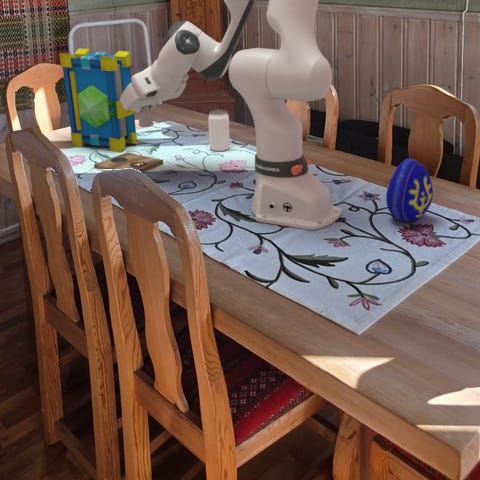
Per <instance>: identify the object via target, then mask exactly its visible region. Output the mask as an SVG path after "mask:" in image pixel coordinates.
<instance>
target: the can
mask: <svg viewBox="0 0 480 480" xmlns="http://www.w3.org/2000/svg"><path fill="white" fill-rule="evenodd" d="M208 114H209V115H208V119H207V120H208V139H209V141H208V142H209V149H210V151H212V152H219V153H220V152H226V151H229V149H230V147H231V144H230V116H229V113H228V111H227V110H225V109H213V110H210V111H209V113H208Z"/></svg>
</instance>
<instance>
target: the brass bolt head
mask: <svg viewBox="0 0 480 480" xmlns="http://www.w3.org/2000/svg"><path fill="white" fill-rule="evenodd" d="M133 165H134V166H141V165H143V162H135V163H133Z"/></svg>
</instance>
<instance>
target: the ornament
mask: <svg viewBox="0 0 480 480" xmlns="http://www.w3.org/2000/svg"><path fill="white" fill-rule="evenodd" d="M433 193H434V191H433V184H432V180H431V176H430V174H429V172H428V169H427V168H426V167H425V166H424V164H422V163H421V162H419V161H418V160H417V159H413V158H406V159H403V161H401V162H400V164H399V165H398V166H397V168H396V169H395V170H394V172H393V174H392V177H391V178H390V181H389V184H388V186H387V190H386V193H385V194H386V195H385V199H386V200H385V201H386V205H387V209H388V212H389V213H390V214H391V216H393V218H395V219H397V220H399V221H402V222H405V223H406V222H408V223H409V222H410V223H411V222H415V221H417V220H419V219H421V218H422V217H423V216H424V215H425V214H426V213H427V211H428V210H429V208H430V207H431V205H432V202H433V195H434V194H433Z"/></svg>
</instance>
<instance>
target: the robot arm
mask: <svg viewBox="0 0 480 480" xmlns="http://www.w3.org/2000/svg"><path fill="white" fill-rule="evenodd" d="M223 2H224V3H225V4H226V7H227V9H228V10H229V14H230V23H229V25H228V27H227V30H226V32H225V34H224V35H223V38H222V40H221V42H219V41H216V40H215V39H214V38H212V37H211V36H209V35H207V34H206V33H205V32H204V31H202V29H200V28H199V27H198V26H197V25H195V24H193V23H192V22H190V21H188V20H180V21H177V22H174V23H173V24H172V25H171V27H169V29H168V31H167V33H166V35H165V36H164V38H163V39H162V41H161V43H160V46H161V47H160V49H161V50H160V51H159V53H158V57H157V58H156V59H155V60H154V62H153V63H152V65H150V66H148V67H147V68H145V69H144V70H142V71H139V72H138V73H135V74H133V75H131V83H130V84H129V85H128V86H127V87H126V89H125V90H124V92H123V94H122V96H121V98H120V102H121V104H122V106H123V107H124V108H125V110H127V111H128V110H132V109H135V111H136V112H137V114H138V113H141V112H142V111H143V106H147V105H149V111H151V110H154V108H155V107H156V106H157V105H159V104H160V103H162V102H166V101H169V100H173V99H177V98H179V97H180V96H181V95H182V94H183V92H184V90H185V88H186V87H187V81H188V79H189V78H190V77H189V76H190V75H189V74H188V72H189V71H190V70H191V69H193V70H194V71H196V73H197V74H198V75H199V76H201V77H202V79H204V80H205V81H216V80H219V79H220V78H222V77H223V76H225V73H226V72H227V70H228V78H229V81H230V84H231V85H232V87H233V88H234V89H235V90H236V91H237V92H238V93H239V94H240V95H241V98H243V100H244V101H245V103H246V105H247V106H248V109H249V110H250V113H251V117H252V119H253V120H252V121H253V125H254V128H255V129H254V130H255V144H256V145H255V146H256V150H255V151H256V154H255V155H254V170H255V174H256V175H255V176H256V177H255V188H254V194H253V200H252V204H251V207H250V211H251V213H252V214H253V215H254V217H255V218H254V219H255V221H256V222H259V223H267V224H271V225H277V226H278V225H279V226H286V227H291V228H298V229H303V230H304V229H305V230H309V231H310V230H312V231H314V230H318V229H322V228H325V227H328V226H329V225H331V224H333V223H334V222H336V221H337V220H338V219H340V217H341V215H342V209H341V208H340V207H338V206H335V205H333V201H332V195H331V191H330V189H329V188H328V187H327V186H326V185H325V184H324V183H323V182H321V181H320V180H319V179H318V178H317V177H316V176H315V175H314V174H313V173H312V172H310V170H309V166H310V165H312V164H313V163H312V161H313V159H312V158H311V159H309V160H306V158H305V155H304V154H303V125H302V122H301V119H300V118H298V116H297V115H295V114H294V113H293V112H292V111H291V110H290V109H289V108H288V106H287V105H286V104H287V103H286V102H285V101H286V100H287V101H293V102H299V103H300V102H311V101H312V102H313V101H320V100H322V98H323V97H325V96H326V94H327V93H328V92H329V90H330V88H331V85H332V83H333V71H332V68H331V65H330V63H329V61H328V59H327V58H326V56H324V55H323V54H322V52H321V50H320V48H319V45H318V43H317V39H316V38H317V37H316V32H315V31H316V30H315V28H316V27H315V24H316V17H317V10H318V5H319V0H268V3H267V8H266V9H267V10H266V21H267V23H268V25H269V26H270V27H271V29H272V30H274V31H275V32H276V33H277V34H278V35H279V36H280V47H279V49H276V48H275V49H273V48H265V47H263V48H262V47H254V48H253V47H252V48H248V49H241V50H239V51H237V52H235V54H234V55H233V53H234V51H235V49H236V47H237V45H238V42H239V40H240V38H241V36H242V34H243V31H244V29H245V28H246V25H247V22H248V20H249V18H250V16H251V14H252V12H253V9H254V6H255V5H254V4H255V2H256V1H255V0H223ZM232 55H233V56H232Z"/></svg>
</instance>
